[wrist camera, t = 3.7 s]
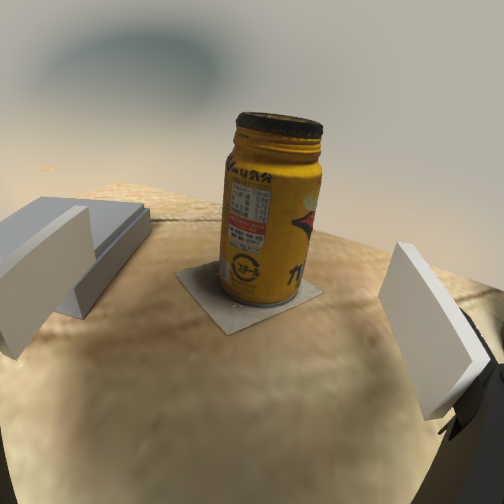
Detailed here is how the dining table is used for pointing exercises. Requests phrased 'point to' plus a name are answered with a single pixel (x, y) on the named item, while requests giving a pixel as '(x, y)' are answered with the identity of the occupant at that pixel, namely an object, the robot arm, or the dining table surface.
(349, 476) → the dining table surface
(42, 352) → the dining table surface
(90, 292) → the grey square coaster
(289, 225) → the condiment
